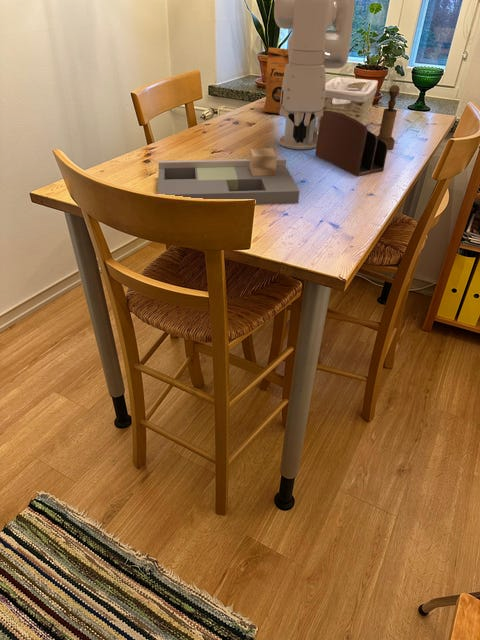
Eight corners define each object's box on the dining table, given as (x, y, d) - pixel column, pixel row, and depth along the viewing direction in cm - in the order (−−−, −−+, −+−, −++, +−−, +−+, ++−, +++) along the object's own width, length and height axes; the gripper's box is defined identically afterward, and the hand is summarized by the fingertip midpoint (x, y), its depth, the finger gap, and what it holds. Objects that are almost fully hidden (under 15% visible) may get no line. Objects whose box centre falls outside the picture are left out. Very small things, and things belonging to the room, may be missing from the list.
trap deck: (283, 174, 128) (284, 158, 125) (298, 202, 113) (300, 185, 111) (159, 177, 125) (158, 160, 122) (158, 207, 110) (156, 188, 107)
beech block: (271, 167, 124) (272, 148, 121) (275, 175, 119) (276, 156, 116) (249, 167, 123) (250, 148, 120) (252, 176, 119) (253, 156, 116)
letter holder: (356, 177, 128) (366, 124, 120) (314, 155, 142) (320, 106, 133) (383, 171, 132) (394, 119, 123) (340, 151, 146) (347, 103, 137)
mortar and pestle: (395, 145, 151) (408, 84, 140) (391, 151, 146) (404, 88, 135) (374, 142, 153) (386, 82, 142) (370, 147, 148) (382, 86, 137)
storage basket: (329, 118, 176) (334, 75, 167) (372, 123, 171) (380, 79, 162) (312, 135, 159) (317, 87, 150) (359, 141, 154) (367, 93, 145)
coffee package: (292, 117, 175) (297, 51, 162) (260, 114, 178) (263, 48, 165) (298, 111, 183) (303, 47, 169) (267, 108, 186) (271, 45, 172)
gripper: (333, 56, 110) (323, 137, 121) (271, 56, 108) (267, 137, 119) (343, 61, 104) (331, 145, 115) (277, 60, 102) (272, 145, 113)
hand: (298, 141), depth 117 cm, fingers closed
